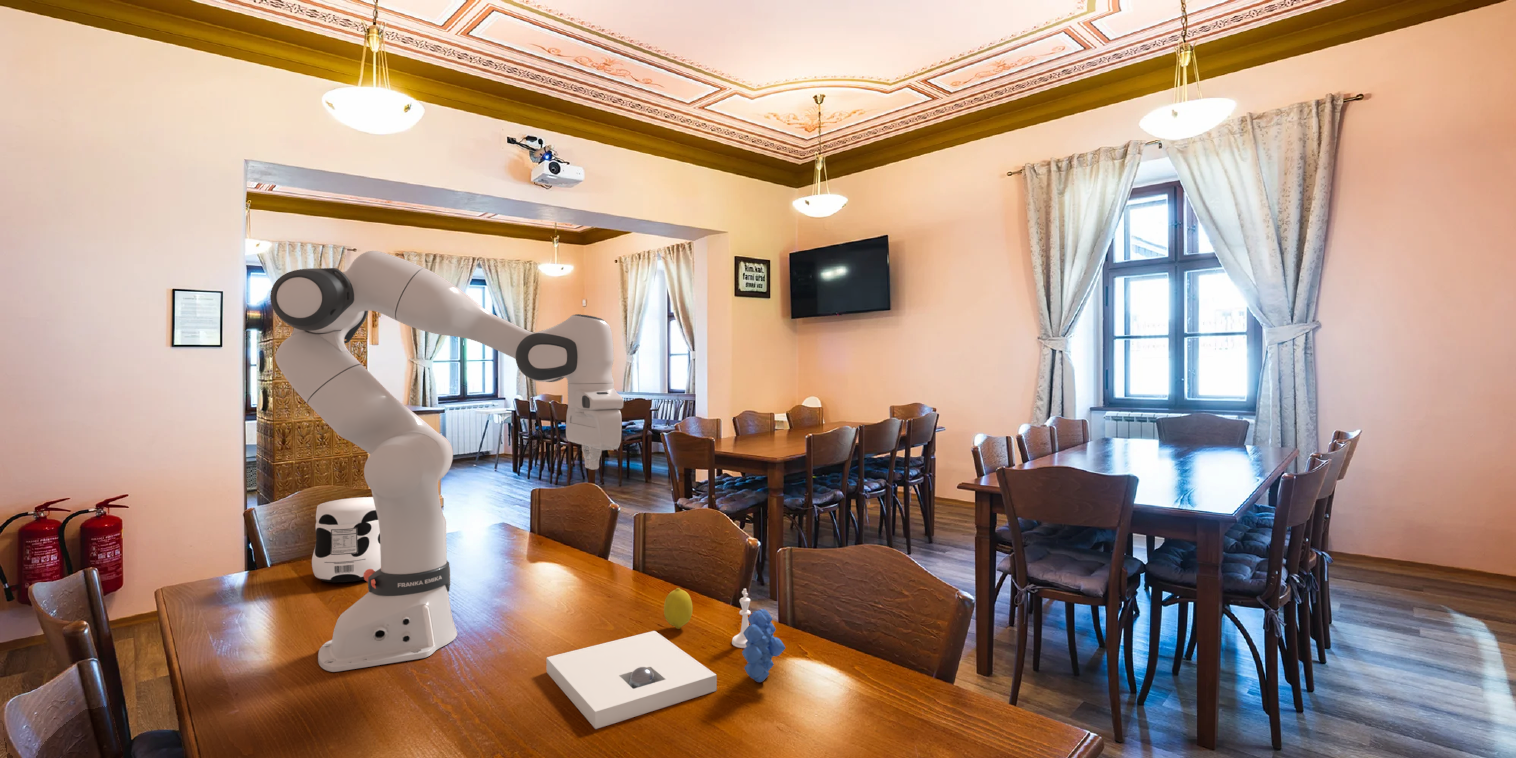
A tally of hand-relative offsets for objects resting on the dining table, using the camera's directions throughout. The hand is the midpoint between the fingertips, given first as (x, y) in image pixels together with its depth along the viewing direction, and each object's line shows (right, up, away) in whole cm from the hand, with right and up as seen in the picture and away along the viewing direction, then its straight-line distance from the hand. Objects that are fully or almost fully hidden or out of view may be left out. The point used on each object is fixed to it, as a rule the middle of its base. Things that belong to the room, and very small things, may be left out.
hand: (591, 468), depth 136 cm
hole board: (+12, -32, -23) cm, 41 cm away
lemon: (+17, -31, -1) cm, 36 cm away
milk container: (-66, -31, +33) cm, 80 cm away
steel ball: (+14, -30, -27) cm, 43 cm away
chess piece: (+30, -31, -8) cm, 44 cm away
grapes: (+34, -32, -23) cm, 52 cm away
